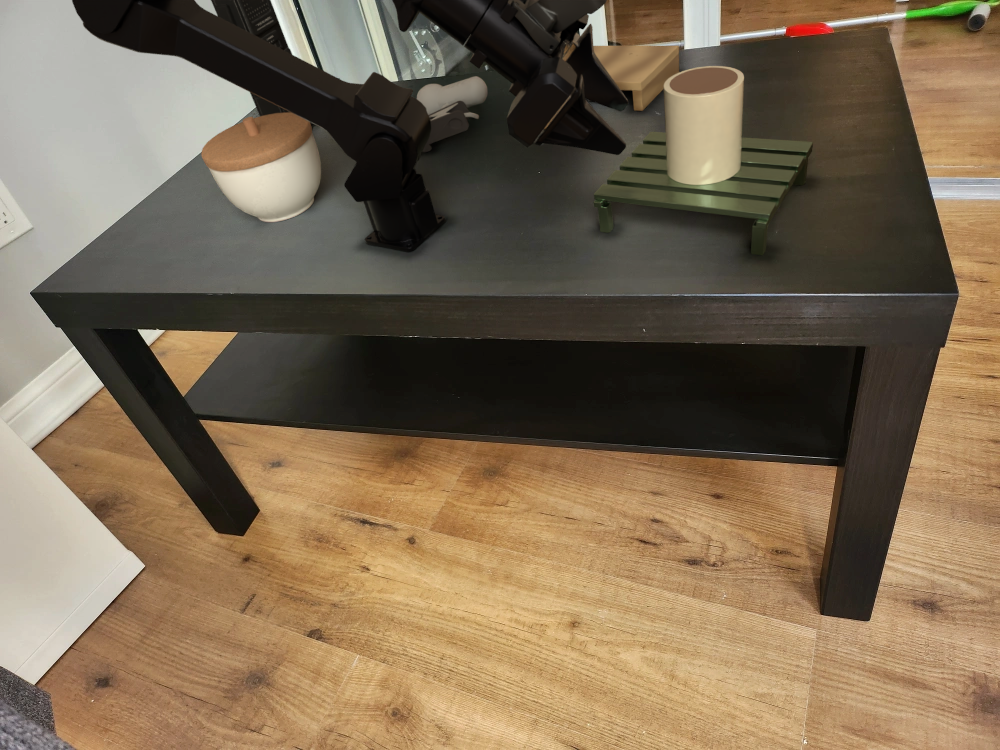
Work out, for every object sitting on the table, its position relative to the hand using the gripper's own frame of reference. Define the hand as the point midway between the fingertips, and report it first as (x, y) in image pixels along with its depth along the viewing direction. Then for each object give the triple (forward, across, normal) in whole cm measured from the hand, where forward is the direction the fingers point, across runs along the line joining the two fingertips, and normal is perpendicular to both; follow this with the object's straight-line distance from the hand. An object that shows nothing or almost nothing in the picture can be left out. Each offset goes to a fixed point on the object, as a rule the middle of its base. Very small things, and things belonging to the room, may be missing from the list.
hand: (624, 127), depth 64 cm
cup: (+8, 0, -2) cm, 8 cm away
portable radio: (-29, +32, +42) cm, 60 cm away
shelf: (+3, +33, +9) cm, 34 cm away
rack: (+11, 0, +1) cm, 11 cm away
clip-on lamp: (-13, +26, +26) cm, 39 cm away
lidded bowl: (-23, +9, +36) cm, 43 cm away
